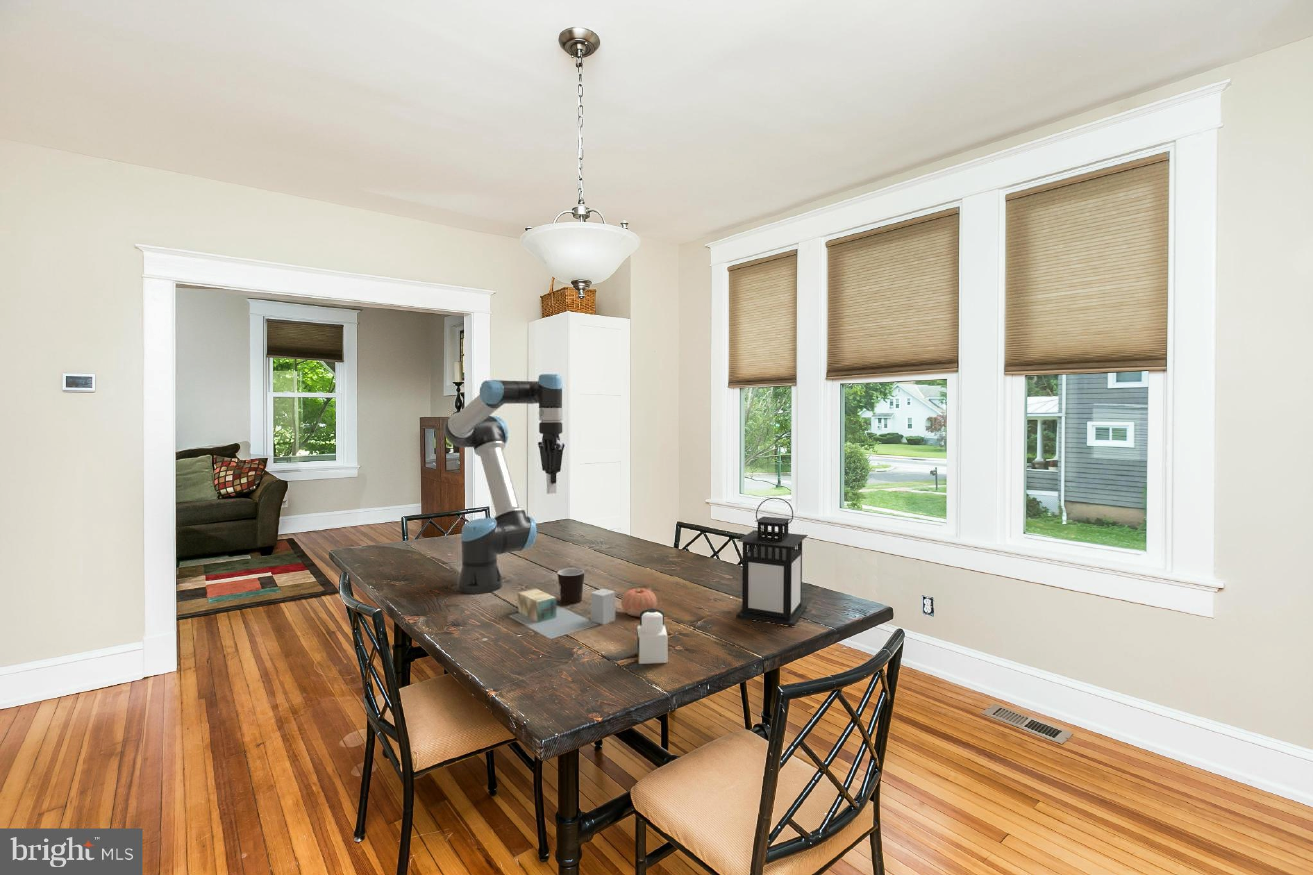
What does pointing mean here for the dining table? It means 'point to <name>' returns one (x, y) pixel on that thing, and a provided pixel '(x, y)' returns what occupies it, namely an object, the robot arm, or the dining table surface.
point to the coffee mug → (571, 585)
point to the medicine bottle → (652, 637)
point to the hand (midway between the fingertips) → (551, 493)
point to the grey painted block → (603, 606)
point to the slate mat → (556, 623)
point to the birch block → (537, 605)
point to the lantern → (772, 573)
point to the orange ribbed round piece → (638, 601)
